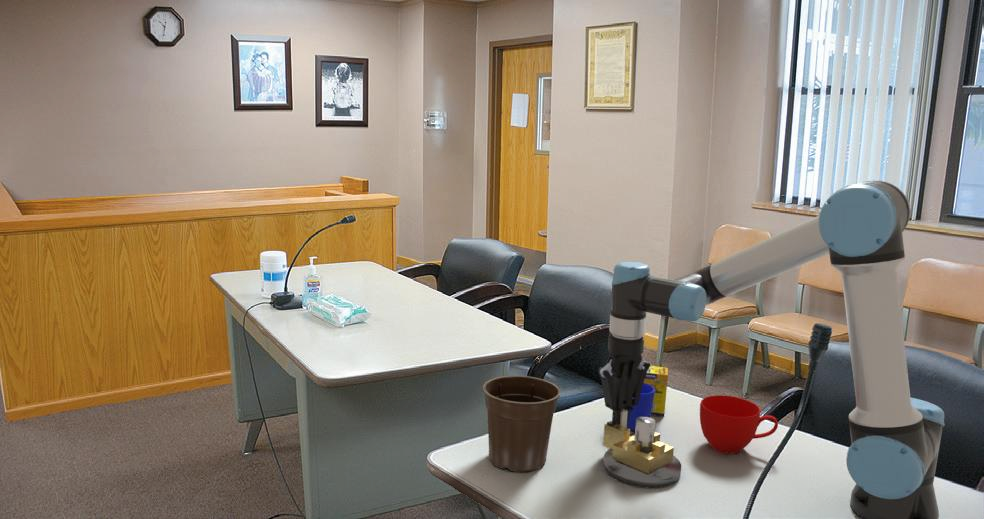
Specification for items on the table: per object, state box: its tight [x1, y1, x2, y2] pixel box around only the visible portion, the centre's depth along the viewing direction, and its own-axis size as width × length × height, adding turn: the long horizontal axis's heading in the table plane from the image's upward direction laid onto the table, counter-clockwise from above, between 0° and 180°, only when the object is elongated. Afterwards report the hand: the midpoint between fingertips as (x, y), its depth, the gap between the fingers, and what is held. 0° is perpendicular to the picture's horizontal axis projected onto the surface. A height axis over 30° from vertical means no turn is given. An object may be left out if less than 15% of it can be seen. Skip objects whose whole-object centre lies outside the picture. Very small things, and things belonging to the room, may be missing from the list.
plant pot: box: [482, 375, 562, 473], centre depth 165 cm, size 16×16×16 cm
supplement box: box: [644, 365, 669, 417], centre depth 195 cm, size 6×6×11 cm
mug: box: [626, 383, 655, 432], centre depth 183 cm, size 8×12×10 cm
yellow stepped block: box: [602, 420, 675, 474], centre depth 165 cm, size 14×9×5 cm, turn 45°
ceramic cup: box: [699, 394, 779, 455], centre depth 175 cm, size 13×17×10 cm
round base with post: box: [602, 417, 682, 489], centre depth 163 cm, size 16×16×11 cm
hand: (619, 436), depth 171 cm, fingers closed
